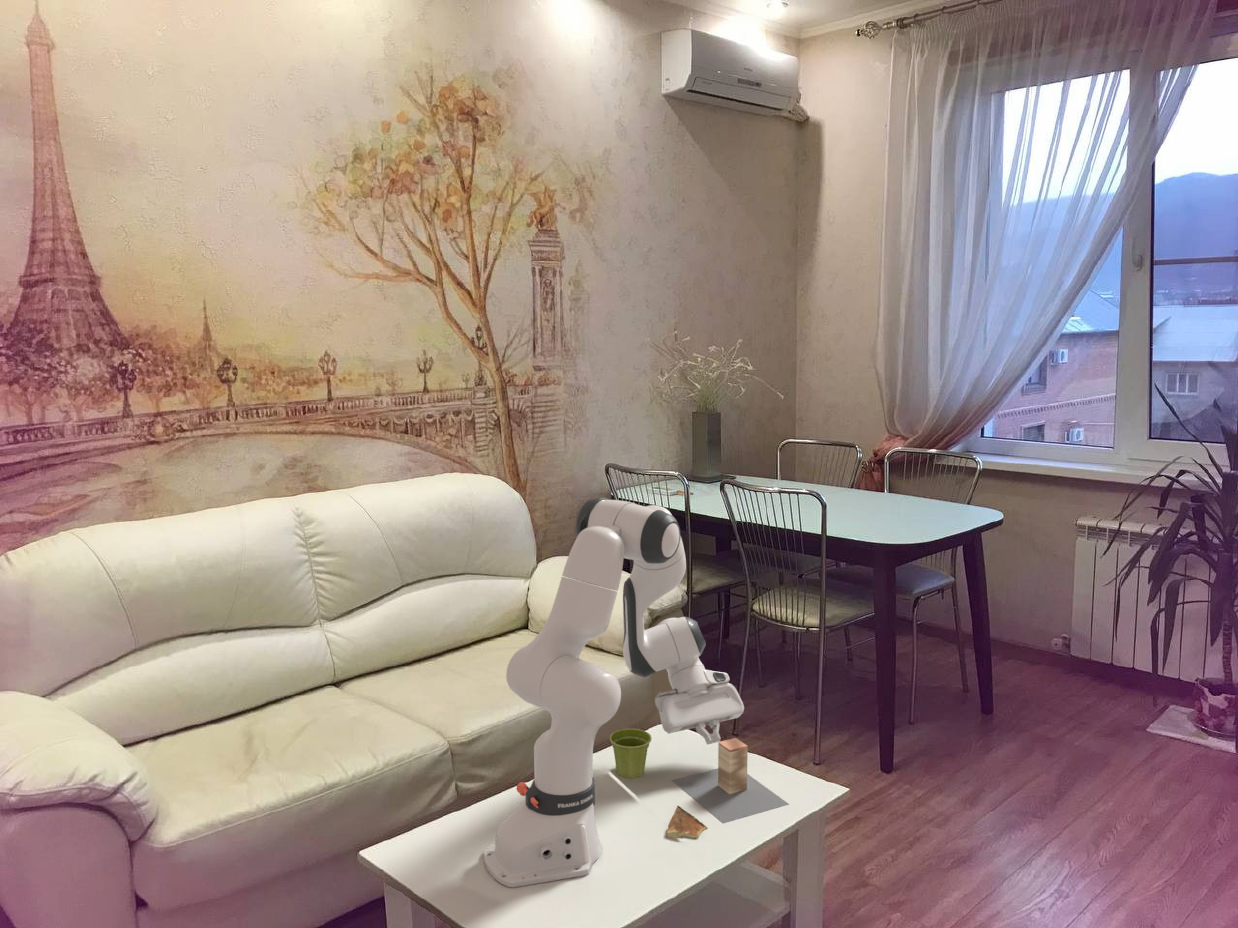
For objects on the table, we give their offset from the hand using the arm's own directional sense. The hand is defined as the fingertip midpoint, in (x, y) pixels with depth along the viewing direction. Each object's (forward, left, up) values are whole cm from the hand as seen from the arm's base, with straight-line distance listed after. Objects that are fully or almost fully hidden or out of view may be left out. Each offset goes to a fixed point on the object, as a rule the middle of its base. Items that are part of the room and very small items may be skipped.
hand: (714, 742), depth 210 cm
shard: (-18, -15, -9) cm, 25 cm away
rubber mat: (-2, -9, -8) cm, 12 cm away
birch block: (0, -7, -7) cm, 10 cm away
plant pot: (-16, +10, -8) cm, 20 cm away
